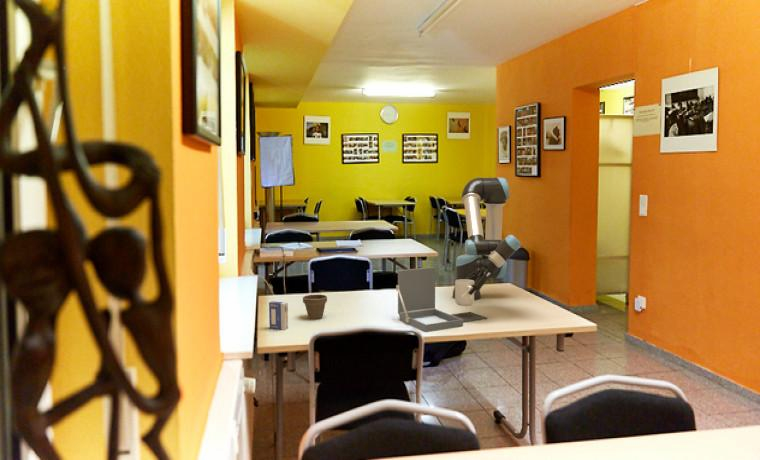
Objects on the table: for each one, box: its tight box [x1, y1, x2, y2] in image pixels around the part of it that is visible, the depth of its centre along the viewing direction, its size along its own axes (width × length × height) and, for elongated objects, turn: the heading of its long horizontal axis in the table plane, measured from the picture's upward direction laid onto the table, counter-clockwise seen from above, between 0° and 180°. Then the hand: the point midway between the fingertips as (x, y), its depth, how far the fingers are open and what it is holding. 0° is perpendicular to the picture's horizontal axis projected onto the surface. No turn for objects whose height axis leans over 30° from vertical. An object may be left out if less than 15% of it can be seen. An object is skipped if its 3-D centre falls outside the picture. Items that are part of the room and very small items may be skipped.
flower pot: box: [302, 294, 328, 320], centre depth 277 cm, size 12×11×10 cm
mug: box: [454, 279, 475, 307], centre depth 275 cm, size 12×9×11 cm
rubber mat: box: [450, 311, 488, 324], centre depth 277 cm, size 13×15×1 cm
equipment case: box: [395, 266, 464, 333], centre depth 267 cm, size 24×21×23 cm
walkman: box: [268, 300, 289, 331], centre depth 259 cm, size 8×3×12 cm, turn 70°
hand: (460, 295), depth 275 cm, fingers closed on mug, 12 cm apart
